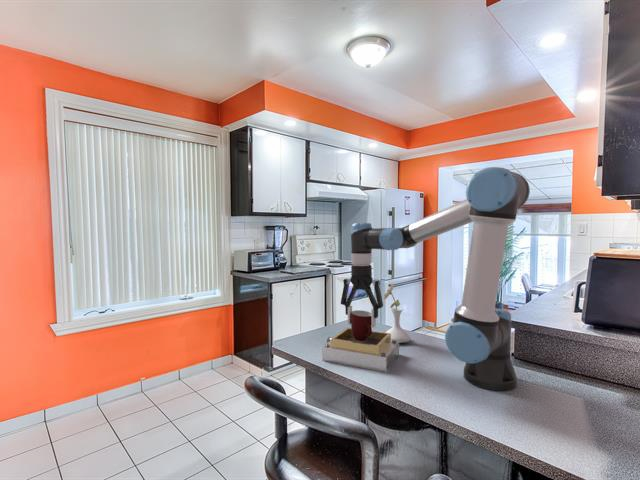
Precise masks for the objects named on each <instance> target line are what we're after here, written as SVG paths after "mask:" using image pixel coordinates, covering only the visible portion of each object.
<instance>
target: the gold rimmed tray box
mask: <svg viewBox="0 0 640 480" xmlns="http://www.w3.org/2000/svg"><path fill="white" fill-rule="evenodd" d="M398 356H400V343H399V341H396V340H391V333H386V332H381V331H375V330H372V333H371V336H369V337H367V338H366V340H365V341H357V340H355V338H354V336H353V334H352V328H351V327H345V329H343V330H342V331H340V332H339V333H337V334H336V335H334V336H333V337H330V336H328V337H327V338H326V344H324V345H322V346H321V359H322V361H324V362H329V363H335V364H340V365H346V366H351V367H355V368H362V369H365V370H370V371H372V370H373V371H377V372H383V373H387V372H388V371H389V369H390V368H391V367H392V365H393V364H394V362H395V361H396V359H397V358H398Z"/></svg>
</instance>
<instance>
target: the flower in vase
mask: <svg viewBox="0 0 640 480" xmlns="http://www.w3.org/2000/svg"><path fill="white" fill-rule="evenodd" d="M394 287H395V284H394V283H392V284H390V287H389V288H388V289H387V290H386V293H385V294H384V296H383V297H382V300H386V299H388V297H389V296H392V299H393V301H394V302H393V303H392V304H391V305H390V310H391V311H392V314H393V326H392V327H391V328H390V329H388V330H387V331H385V333H391V340H396V341H399V344H403V343H407V342H409V341H410V340H411V336H410V334H409V333H408V332H407V331H406V330H405V329H403V328H402V327H401V324H400V319H401V314H402V312H403V310H404V309H403V308H400V307H399V306H400V305H401V303H400V301H399V299H395V297H394V294H393V293H392V291H393V289H394ZM394 306H395V307H394Z"/></svg>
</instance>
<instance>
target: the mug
mask: <svg viewBox="0 0 640 480" xmlns="http://www.w3.org/2000/svg"><path fill="white" fill-rule="evenodd" d="M350 326H351V327H350V328H352V334H353V336H354V338H355V340H357V341H365V340H366V338H367V337H369V336H371V333H372V331H373V329H372V328H373V327H371V312H370V311H367V310H352V312H351V324H350Z"/></svg>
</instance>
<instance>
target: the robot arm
mask: <svg viewBox="0 0 640 480" xmlns="http://www.w3.org/2000/svg"><path fill="white" fill-rule="evenodd" d="M465 187H466V188H465V199H464V200H461V201H459V202H457V203H455V204H453V205H451V206H449V207H446V208H443V209H441V210H439V211H437V212H435V213H432V214H430V215H427V216H425V217H423V218H420V219H419V220H417V221H414V222H412V223H410V224H408V225H405V226H402V227H382V228H380V227H379V228H373V227H372V224H371V223H370V222H355V223H352V224H351V229H350V231H351V233H350V240H351V241H350V243H351V251H350V252H351V253H350V254H351V257H350V261H351V262H350V263H351V264H352V265H351V267H350V268H351V269H350V270H351V271H350V272H351V273H350V275H351V276H350V278H349V277H347V278H344V279H343V281H342V282H343V289H342V293H341V299H340V305H343V306H344V307H345V315H346V316H347V325H351V312H352V311H353V305H351V304H352V301H353V299H354V297H355V295H356V293H357V291H359V290H362V291H365V293H366V295H367V297H368V299H369V302H370V304H371V306H372V309H371V312H370V313H371V328H374V327H376V325H377V324H376V319H378V317H379V309H382V308H383V307H384V302H383V297H382V292H381V288H380V287H381V285H380V284H381V280H380V279H378V280H375V279H373V277H372V276H373V275H372V273H373V272H372V269H373V267H372V265H371V264H372V260H373V258H372V256H373V255H372V253H373V252H372V251H373V250H381V251H382V250H383V251H395V250H399V249H409V248H414V247H416V246H417V244H419V243H421V242H424V241H427V240H429V239H432V238H434V237H437V236H440V235H442V234H445V233H448V232H451V231H453V230H456V229H458V228H460V227H463V226H465V225H468V224H471V223H472V224H473V225H472V231H471V237H470V238H471V239H470V245H469V252H468V258H467V267H466V273H465V278H464V285H463V291H462V300H461V304H460V305H458V306H457V307H455V309H454V313H453V321H452V323H451V324H449V326H448V327H447V329H446V331H445V333H444V341H445V344H446V347H447V349H448V350H449V352H450V353H451V354H452V355H453V357H455V358H456V359H458V360H459V361H461V362H463V363H465V365H464V366H463V367H464V368H463V378H464V380H465V381H467V382H468V383H469V384H471V385H473V386H476V387H479V388H481V389H485V390H491V391H497V392H498V391H499V392H500V391H501V392H503V391H504V392H505V391H511V390H514V389H516V388H517V385H518V377H517V374H516V371H515V368H514V365H513V363H512V358H511V357H512V353H511V352H512V323H513V320H512V314H511V312H510V311H508V310H507V309H504V308H497V307H496V303H497V299H498V298H497V296H498V290H499V285H500V278H501V273H502V266H503V259H504V255H505V247H506V241H507V236H508V235H507V234H508V230H509V226H510V225H511V224H512V223H513V224H514V222H516V218H517V214H518V210H519V209H520V208H522V207H523V206H525V204H526V203H527V201H528V200H529V196H530V193H531V192H530V190H531V189H530V184H529V182H528V180H527V179H526V178H525V177H524V176H523V175H522V174H519V173H517V172H515V171H512V170H509V169H507V168H505V167H498V166H491V167H490V166H489V167H486V168H483V169H480V170H479V171H477V172H476V173H474V175H472V176H471V177H470V179H469V181H468V183H467V184H466V186H465ZM350 285H352V288H351V291H350V293H349V287H350ZM371 285H373V287H374V292H375V295H374V293H373V291H372V287H371ZM348 294H349V295H348Z"/></svg>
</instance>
